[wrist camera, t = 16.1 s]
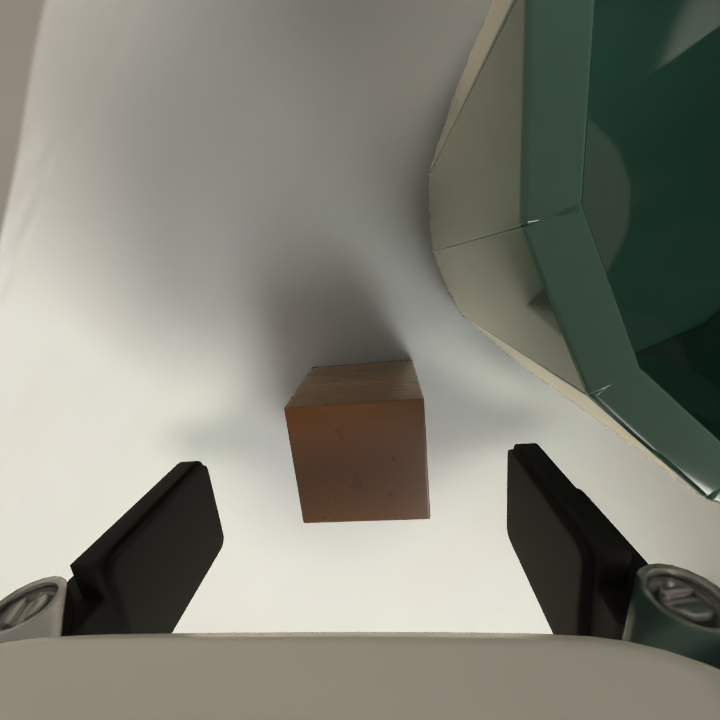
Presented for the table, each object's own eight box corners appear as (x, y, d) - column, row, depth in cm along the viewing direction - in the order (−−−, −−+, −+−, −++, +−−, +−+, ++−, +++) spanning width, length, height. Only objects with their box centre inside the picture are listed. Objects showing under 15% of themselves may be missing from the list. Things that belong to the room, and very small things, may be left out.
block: (312, 367, 15) (283, 407, 11) (412, 359, 15) (424, 398, 11) (324, 455, 16) (302, 523, 12) (418, 451, 16) (430, 519, 12)
